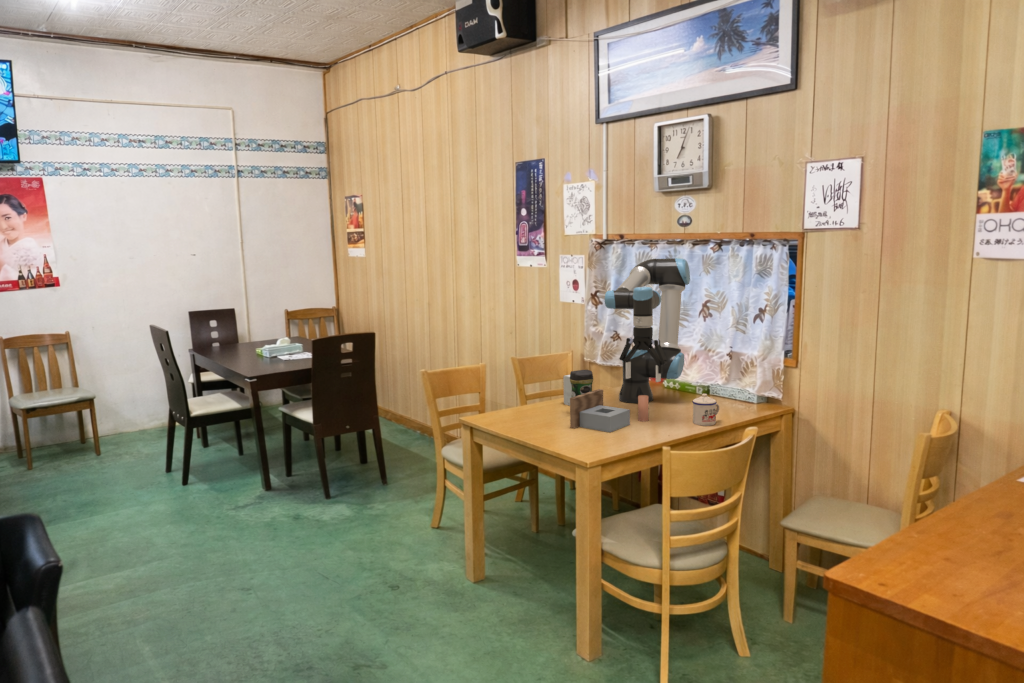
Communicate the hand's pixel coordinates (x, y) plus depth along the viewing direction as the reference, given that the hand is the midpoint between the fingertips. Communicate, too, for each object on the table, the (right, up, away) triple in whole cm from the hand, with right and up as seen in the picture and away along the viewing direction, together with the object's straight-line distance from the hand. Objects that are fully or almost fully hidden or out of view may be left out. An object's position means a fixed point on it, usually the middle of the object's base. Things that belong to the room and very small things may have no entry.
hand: (643, 379), depth 285 cm
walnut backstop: (-22, -17, +1) cm, 28 cm away
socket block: (-16, -18, -5) cm, 24 cm away
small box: (-24, -13, +35) cm, 44 cm away
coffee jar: (-22, -15, +17) cm, 32 cm away
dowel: (+1, -16, +2) cm, 17 cm away
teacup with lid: (+24, -17, -4) cm, 30 cm away
